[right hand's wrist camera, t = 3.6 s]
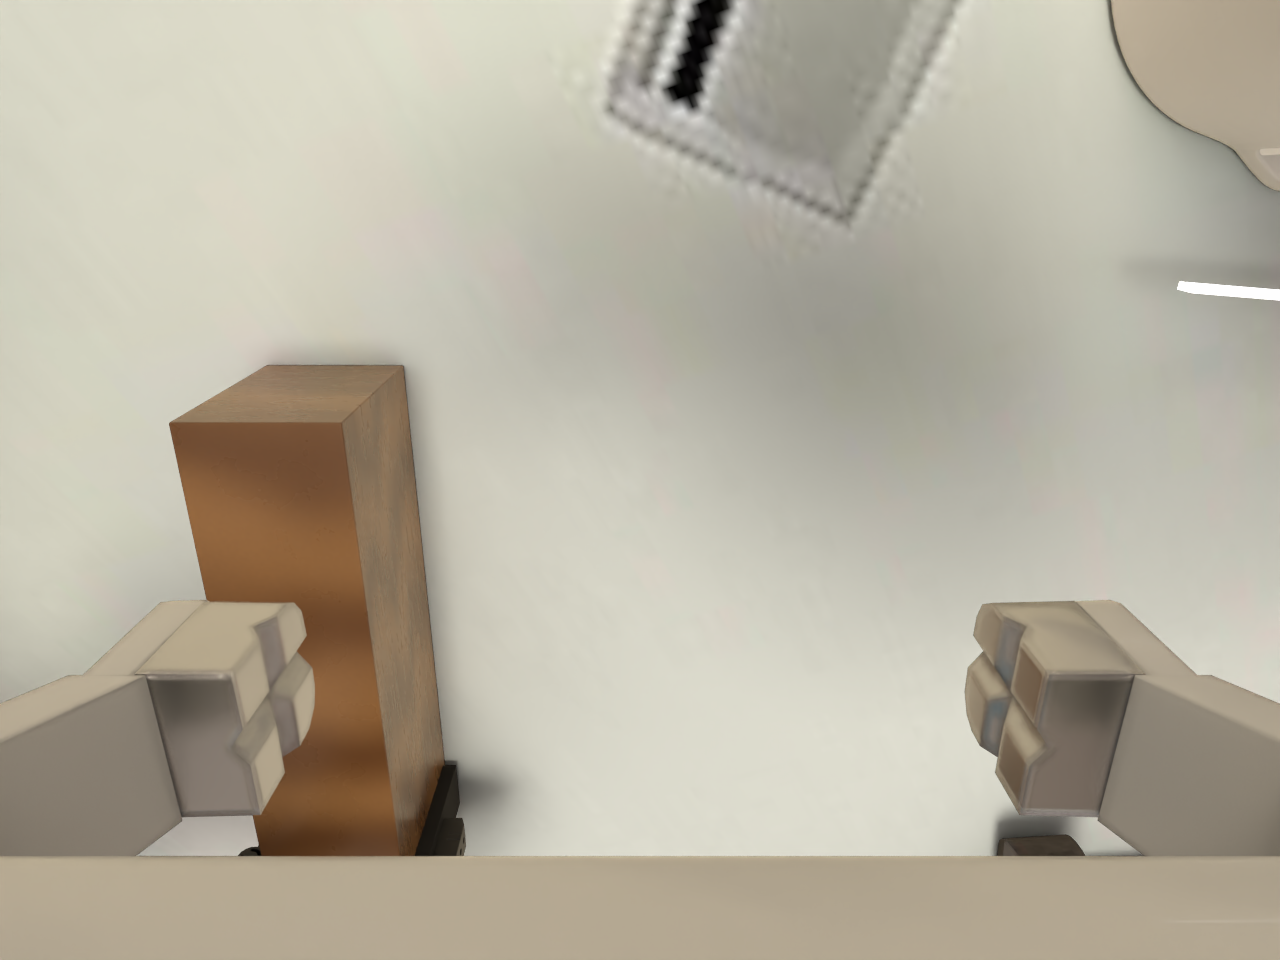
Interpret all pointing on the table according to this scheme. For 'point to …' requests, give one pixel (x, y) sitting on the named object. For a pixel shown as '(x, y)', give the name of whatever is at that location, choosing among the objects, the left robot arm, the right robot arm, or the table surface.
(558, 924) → the right robot arm
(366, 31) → the table surface
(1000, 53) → the table surface
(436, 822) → the left robot arm
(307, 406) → the box
